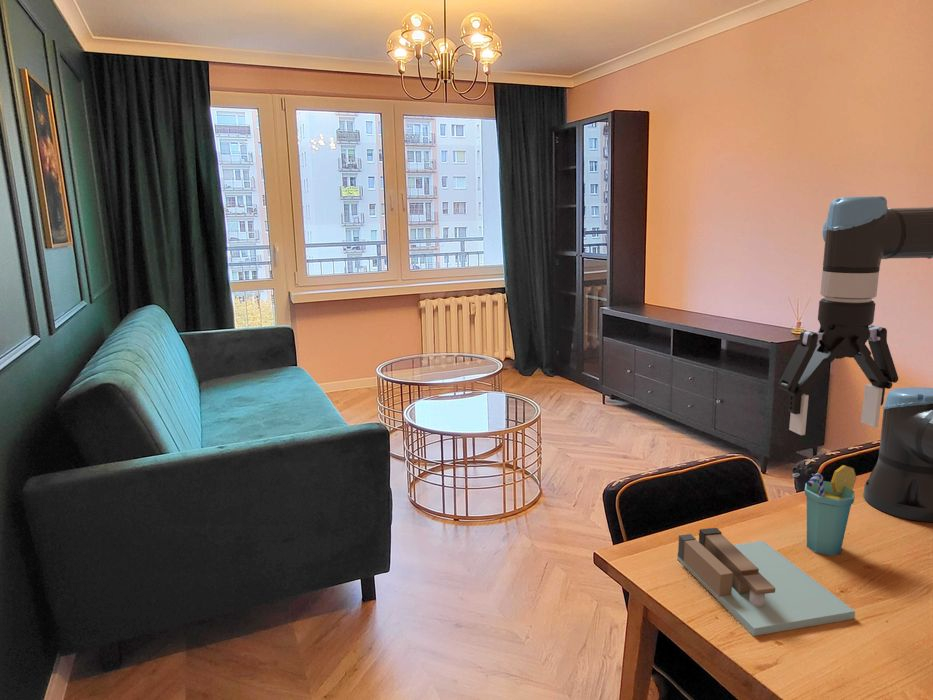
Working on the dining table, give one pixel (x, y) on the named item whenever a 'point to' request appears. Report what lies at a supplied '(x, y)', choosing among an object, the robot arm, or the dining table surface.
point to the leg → (735, 562)
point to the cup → (829, 510)
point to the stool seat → (772, 612)
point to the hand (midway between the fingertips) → (833, 428)
